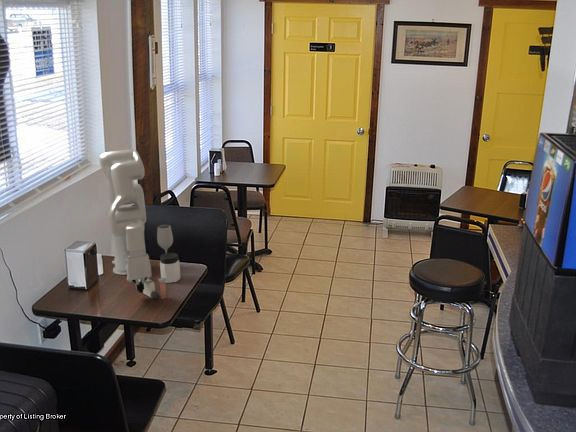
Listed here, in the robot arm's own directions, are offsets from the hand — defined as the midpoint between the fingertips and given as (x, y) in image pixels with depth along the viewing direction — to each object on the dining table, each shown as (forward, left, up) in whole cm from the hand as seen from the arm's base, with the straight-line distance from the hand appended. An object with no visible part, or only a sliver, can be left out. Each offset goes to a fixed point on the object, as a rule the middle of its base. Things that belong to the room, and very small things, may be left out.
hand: (140, 291), depth 279 cm
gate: (-2, +4, -3) cm, 5 cm away
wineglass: (-17, +32, -3) cm, 36 cm away
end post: (+8, +6, -3) cm, 10 cm away
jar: (-4, +22, -3) cm, 22 cm away
